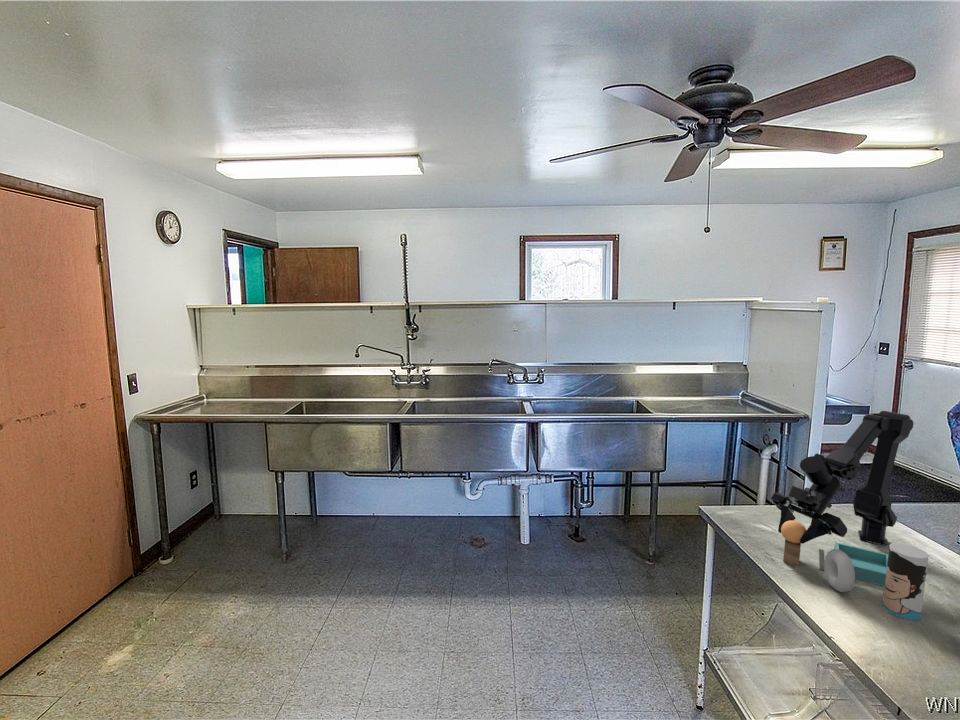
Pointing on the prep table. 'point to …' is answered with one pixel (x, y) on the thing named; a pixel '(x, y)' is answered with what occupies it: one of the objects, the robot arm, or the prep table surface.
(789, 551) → the tee
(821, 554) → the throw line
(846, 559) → the donut
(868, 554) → the tray
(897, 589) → the cup
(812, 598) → the prep table surface
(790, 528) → the ball
